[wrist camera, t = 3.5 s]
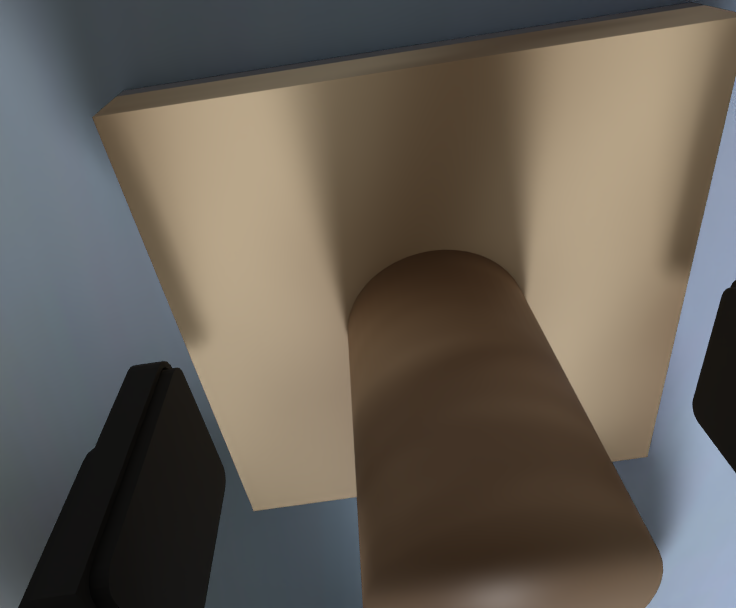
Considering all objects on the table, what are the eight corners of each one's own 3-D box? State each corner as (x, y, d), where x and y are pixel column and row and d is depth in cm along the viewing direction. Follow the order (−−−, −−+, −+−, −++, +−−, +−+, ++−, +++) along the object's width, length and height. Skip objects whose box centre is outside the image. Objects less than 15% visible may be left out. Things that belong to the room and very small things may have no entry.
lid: (705, 5, 9) (1253, 130, 4) (625, 421, 15) (801, 713, 10) (116, 96, 10) (-168, 340, 4) (258, 472, 15) (220, 787, 10)
